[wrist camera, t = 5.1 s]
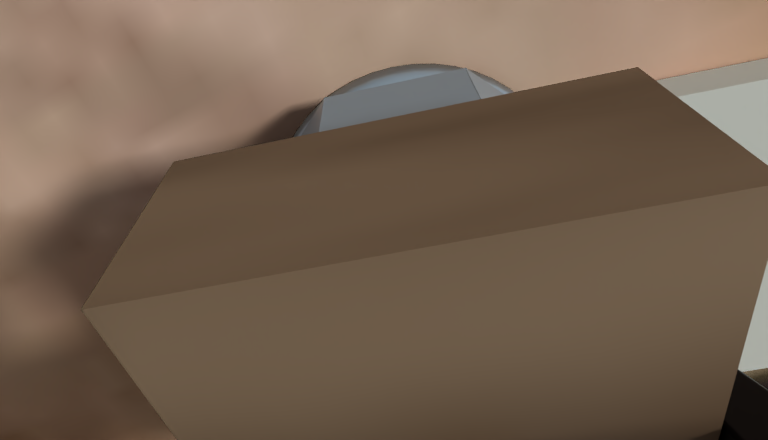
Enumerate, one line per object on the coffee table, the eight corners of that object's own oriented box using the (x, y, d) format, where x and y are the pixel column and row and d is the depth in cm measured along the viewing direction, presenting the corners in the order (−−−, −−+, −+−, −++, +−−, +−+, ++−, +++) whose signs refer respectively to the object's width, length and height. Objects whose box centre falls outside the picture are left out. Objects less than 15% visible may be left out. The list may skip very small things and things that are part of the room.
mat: (851, 327, 17) (876, 351, 16) (542, 376, 18) (551, 400, 17) (988, 13, 11) (1036, 25, 11) (530, 106, 12) (542, 123, 12)
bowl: (559, 278, 15) (612, 391, 12) (321, 319, 16) (311, 438, 13) (554, 31, 11) (633, 103, 8) (237, 99, 12) (190, 191, 9)
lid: (610, 448, 12) (690, 642, 9) (333, 487, 13) (324, 681, 10) (637, 67, 7) (841, 222, 4) (173, 161, 8) (49, 358, 5)
